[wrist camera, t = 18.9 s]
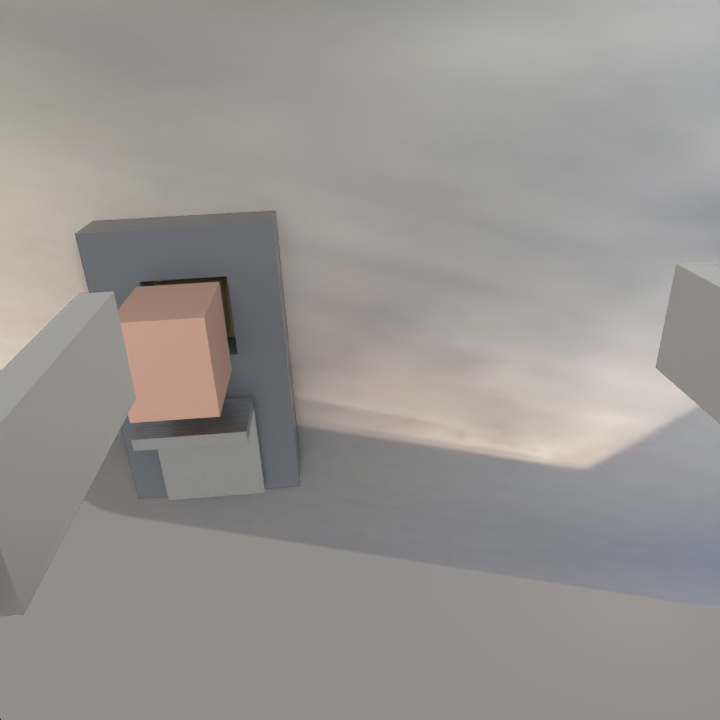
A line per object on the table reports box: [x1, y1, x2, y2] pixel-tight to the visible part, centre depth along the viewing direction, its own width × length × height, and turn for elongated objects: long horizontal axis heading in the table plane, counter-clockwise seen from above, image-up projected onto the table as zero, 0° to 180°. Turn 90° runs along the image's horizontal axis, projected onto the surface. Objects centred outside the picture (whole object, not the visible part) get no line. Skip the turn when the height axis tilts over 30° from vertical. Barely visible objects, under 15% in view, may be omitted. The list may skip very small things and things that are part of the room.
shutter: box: [131, 397, 265, 500], centre depth 42 cm, size 8×7×5 cm
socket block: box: [75, 211, 300, 499], centre depth 44 cm, size 20×12×4 cm, turn 2°
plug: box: [118, 277, 232, 423], centre depth 39 cm, size 6×5×11 cm
